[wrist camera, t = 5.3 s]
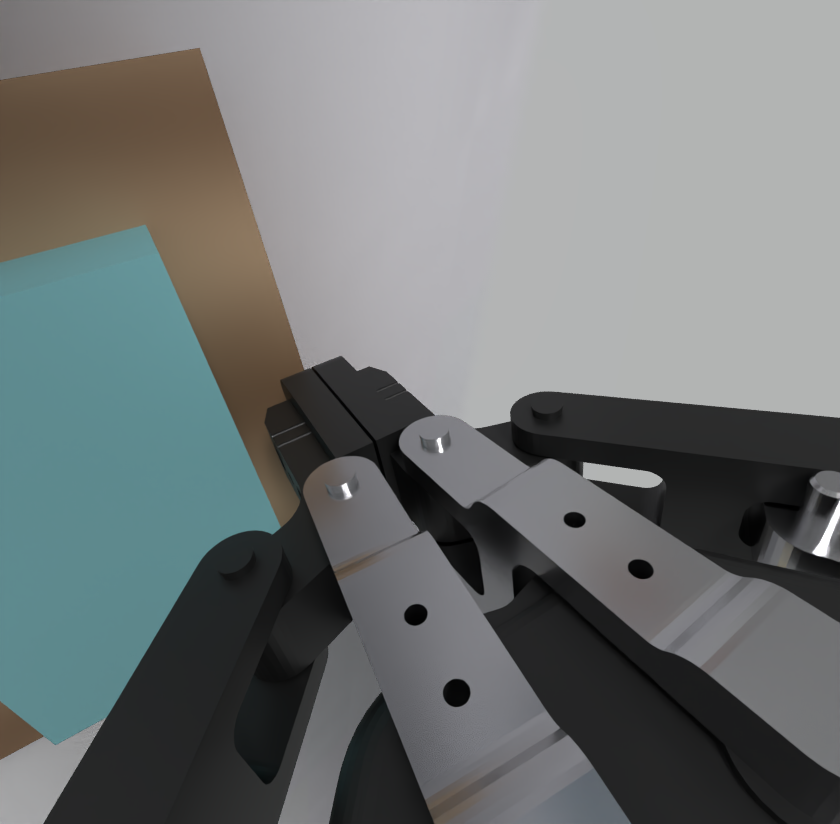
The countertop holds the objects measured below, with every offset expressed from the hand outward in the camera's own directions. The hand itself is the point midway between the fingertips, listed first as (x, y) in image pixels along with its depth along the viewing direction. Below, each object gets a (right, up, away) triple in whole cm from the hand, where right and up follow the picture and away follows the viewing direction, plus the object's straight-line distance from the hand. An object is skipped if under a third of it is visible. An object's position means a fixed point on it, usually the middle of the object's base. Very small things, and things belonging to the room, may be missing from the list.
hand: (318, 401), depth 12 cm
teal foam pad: (-4, -2, -2) cm, 5 cm away
